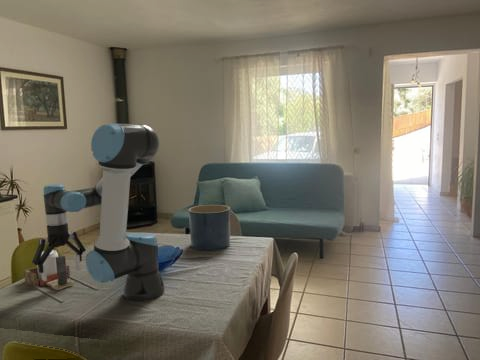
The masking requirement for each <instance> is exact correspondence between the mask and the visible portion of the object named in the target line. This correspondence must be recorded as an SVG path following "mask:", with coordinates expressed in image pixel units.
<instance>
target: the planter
mask: <svg viewBox="0 0 480 360" xmlns="http://www.w3.org/2000/svg"><path fill="white" fill-rule="evenodd" d="M188 219H189V220H188V221H189V222H188V223H189V232H190V233H189V235H190V246H191V248H192V249H195V250H197V251H198V250H199V251H207V252H208V251H210V252H211V251H218V250H223V249H226V248H228V247H229V246H230V245H231V207H230V206H229V205H228V206H227V205H224V204H223V205H222V204H203V205H195V206H192V207H190V208H188Z"/></svg>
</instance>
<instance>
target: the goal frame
mask: <svg viewBox="0 0 480 360" xmlns="http://www.w3.org/2000/svg"><path fill="white" fill-rule="evenodd" d="M66 270H67V271H68V276H69V275H70V276H71V272H70V270H71V269H70V265H69V264H68V263H66ZM23 274H24V283H27V284H29V285H30V286H32V287H34V288H35V286H38V287H39V279H38V268H37V266H34V267H30V268H27V269H24V270H23Z"/></svg>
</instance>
